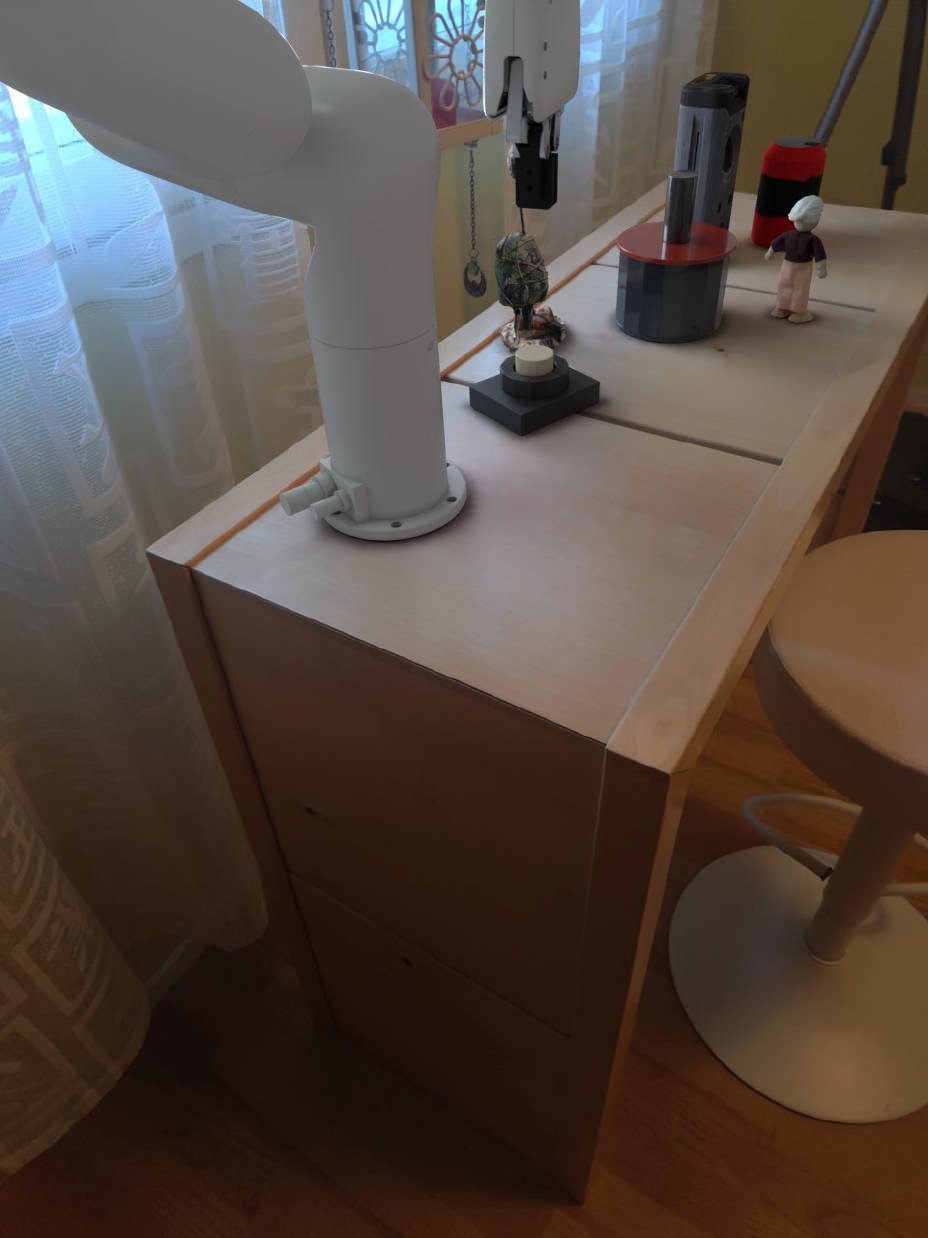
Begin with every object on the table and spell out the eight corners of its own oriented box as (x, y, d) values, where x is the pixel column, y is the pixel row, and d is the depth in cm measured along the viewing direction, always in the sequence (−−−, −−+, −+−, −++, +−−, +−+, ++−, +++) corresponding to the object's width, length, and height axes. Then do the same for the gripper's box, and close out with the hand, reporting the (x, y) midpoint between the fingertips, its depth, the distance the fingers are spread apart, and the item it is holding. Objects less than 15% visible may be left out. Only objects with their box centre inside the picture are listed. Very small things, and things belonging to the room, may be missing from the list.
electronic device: (704, 270, 112) (728, 89, 99) (660, 263, 114) (677, 86, 101) (729, 247, 118) (754, 73, 105) (686, 241, 120) (706, 70, 107)
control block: (521, 436, 83) (520, 397, 80) (469, 406, 88) (467, 368, 85) (599, 402, 87) (601, 364, 85) (546, 375, 92) (546, 338, 90)
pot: (669, 352, 95) (678, 272, 89) (594, 320, 102) (598, 244, 96) (741, 321, 100) (753, 244, 94) (664, 293, 107) (672, 219, 101)
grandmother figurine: (827, 316, 100) (853, 196, 91) (812, 328, 98) (838, 206, 89) (763, 301, 104) (783, 185, 95) (747, 312, 101) (767, 194, 93)
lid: (678, 280, 89) (687, 200, 84) (592, 249, 97) (595, 174, 92) (760, 249, 94) (773, 172, 89) (672, 223, 102) (679, 150, 97)
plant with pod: (472, 354, 97) (463, 153, 84) (520, 315, 104) (519, 125, 91) (539, 368, 93) (540, 161, 80) (583, 327, 101) (592, 131, 88)
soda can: (791, 254, 115) (811, 152, 107) (739, 242, 119) (754, 144, 111) (819, 238, 119) (840, 138, 111) (768, 227, 123) (784, 131, 115)
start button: (532, 381, 83) (532, 364, 82) (508, 369, 85) (507, 352, 84) (561, 370, 85) (561, 352, 84) (536, 358, 87) (536, 341, 86)
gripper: (523, -74, 70) (525, 177, 82) (446, -53, 60) (461, 231, 72) (616, -77, 67) (604, 183, 79) (552, -56, 57) (549, 238, 69)
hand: (536, 205), depth 75 cm, fingers closed
